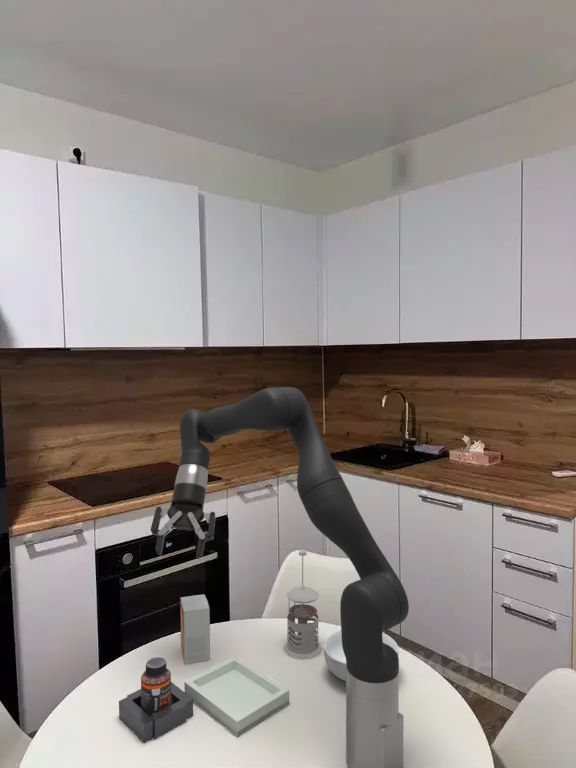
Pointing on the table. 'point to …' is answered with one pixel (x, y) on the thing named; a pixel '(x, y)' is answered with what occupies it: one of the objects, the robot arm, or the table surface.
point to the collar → (159, 721)
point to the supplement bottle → (155, 686)
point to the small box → (195, 629)
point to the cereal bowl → (336, 654)
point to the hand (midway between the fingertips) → (178, 556)
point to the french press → (302, 623)
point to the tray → (237, 695)
